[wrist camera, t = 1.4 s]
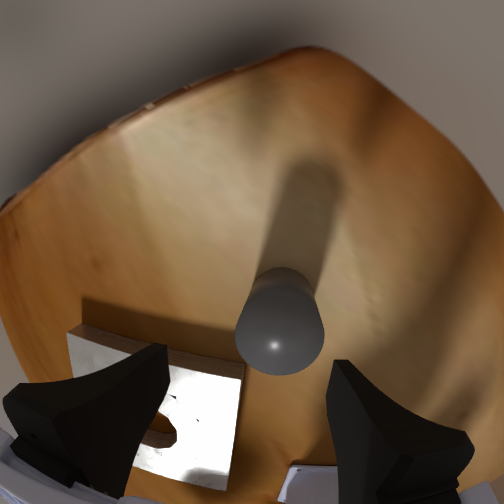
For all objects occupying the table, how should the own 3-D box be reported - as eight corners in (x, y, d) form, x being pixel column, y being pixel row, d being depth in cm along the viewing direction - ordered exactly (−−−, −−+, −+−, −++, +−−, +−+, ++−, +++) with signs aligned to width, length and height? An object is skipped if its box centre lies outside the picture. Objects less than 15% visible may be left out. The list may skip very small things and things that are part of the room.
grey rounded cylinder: (317, 271, 21) (332, 301, 14) (306, 330, 21) (314, 379, 15) (254, 263, 21) (239, 289, 14) (247, 322, 22) (230, 368, 15)
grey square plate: (245, 363, 22) (241, 380, 20) (229, 475, 25) (225, 491, 22) (81, 323, 24) (66, 332, 21) (102, 436, 26) (92, 448, 24)
